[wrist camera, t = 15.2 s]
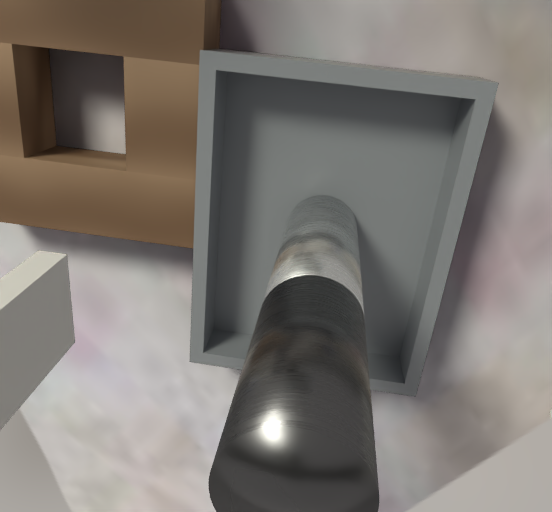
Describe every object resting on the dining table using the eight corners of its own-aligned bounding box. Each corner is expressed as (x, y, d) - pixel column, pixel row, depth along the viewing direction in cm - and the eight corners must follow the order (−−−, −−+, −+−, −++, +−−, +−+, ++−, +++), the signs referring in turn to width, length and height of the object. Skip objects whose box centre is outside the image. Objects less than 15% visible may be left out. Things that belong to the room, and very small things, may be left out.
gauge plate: (-30, -46, 20) (-79, -57, 17) (222, -21, 19) (205, -29, 17) (2, 199, 24) (-34, 217, 21) (210, 227, 23) (196, 248, 21)
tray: (216, 48, 20) (199, 49, 17) (479, 77, 19) (498, 82, 17) (203, 331, 25) (189, 361, 23) (408, 361, 24) (415, 396, 22)
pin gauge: (291, 190, 21) (212, 415, 8) (362, 199, 21) (394, 445, 8) (283, 255, 22) (205, 539, 10) (350, 265, 22) (363, 568, 9)
